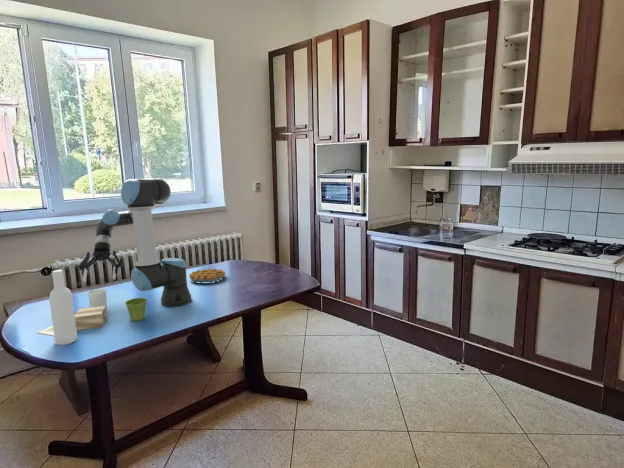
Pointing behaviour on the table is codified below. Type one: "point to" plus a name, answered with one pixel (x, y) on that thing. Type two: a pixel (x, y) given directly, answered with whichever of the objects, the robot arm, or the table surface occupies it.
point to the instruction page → (47, 331)
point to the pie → (207, 275)
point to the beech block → (90, 317)
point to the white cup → (97, 298)
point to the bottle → (62, 311)
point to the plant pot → (136, 308)
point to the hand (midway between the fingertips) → (99, 279)
